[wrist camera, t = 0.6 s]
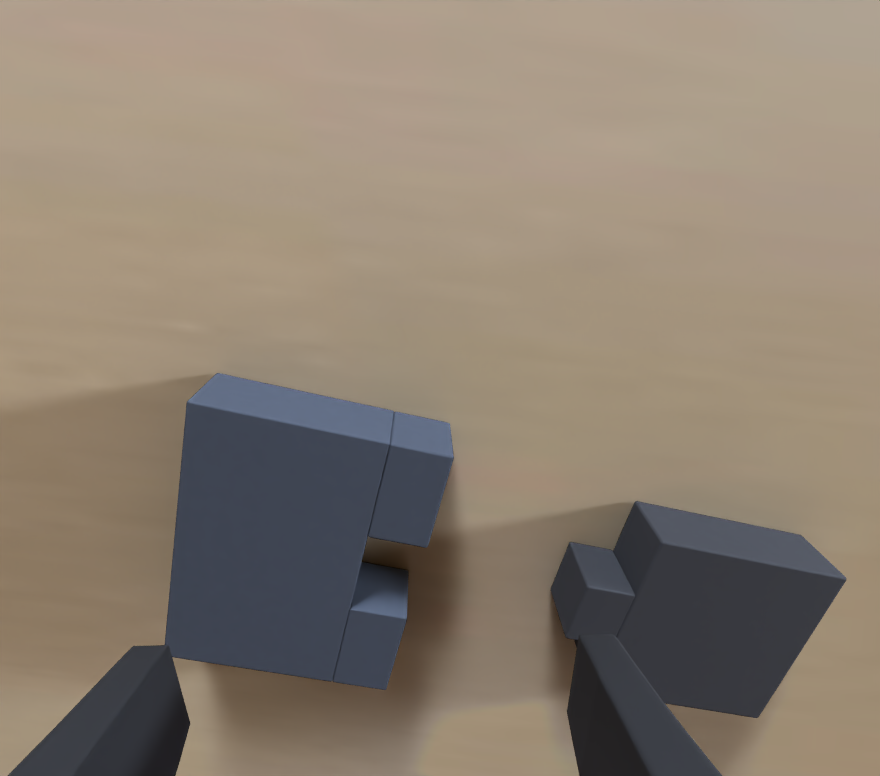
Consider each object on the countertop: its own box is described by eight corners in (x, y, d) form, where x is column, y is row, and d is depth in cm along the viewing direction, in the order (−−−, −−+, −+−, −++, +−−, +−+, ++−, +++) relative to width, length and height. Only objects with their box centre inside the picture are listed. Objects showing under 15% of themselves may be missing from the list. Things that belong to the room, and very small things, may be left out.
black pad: (725, 665, 23) (758, 719, 21) (532, 632, 22) (544, 685, 20) (801, 534, 21) (848, 578, 19) (589, 490, 20) (611, 531, 18)
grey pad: (390, 637, 22) (386, 690, 20) (191, 604, 21) (163, 656, 19) (450, 422, 19) (454, 457, 17) (217, 371, 18) (185, 401, 16)
